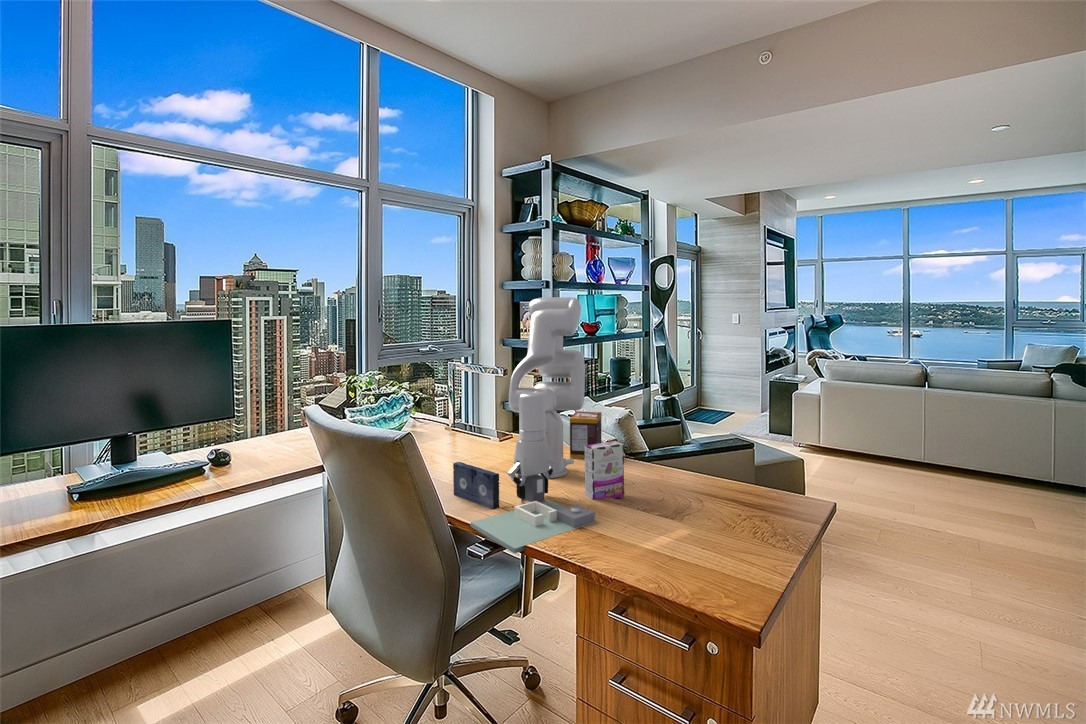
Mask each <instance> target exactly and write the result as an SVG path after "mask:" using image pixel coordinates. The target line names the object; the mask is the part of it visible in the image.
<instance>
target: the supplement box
mask: <svg viewBox="0 0 1086 724" xmlns="http://www.w3.org/2000/svg"><path fill="white" fill-rule="evenodd" d="M602 413H603V412H602V411H583V410H575V412H574V413H573V414H572V416H571V417H569V459H571V458H572V459H577V460H578V459H580V460H581V459H582V460H583V459H584V460H585V445H592V444H598V443H602Z"/></svg>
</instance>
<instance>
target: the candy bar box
mask: <svg viewBox="0 0 1086 724" xmlns="http://www.w3.org/2000/svg"><path fill="white" fill-rule="evenodd" d="M624 448H625V445H624V443H622V442H620V441H617V440H612V441H607V442H606V441H605V442H601V443H598V444H592V445H585V459H584V495H585V497H587V498H589V499H591V500H592V501H593V500H601V499H605V498H612V499H615V500H617V499H618V500H619V499H622V498H624V497H625V453H624V452H625V449H624Z"/></svg>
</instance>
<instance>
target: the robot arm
mask: <svg viewBox="0 0 1086 724" xmlns="http://www.w3.org/2000/svg"><path fill="white" fill-rule="evenodd" d="M581 306H582V305H581V303H580V300H579V299H578V298H576V297H570V296H569V297H567V296H566V297H565V296H564V297H563V296H562V297H554V296H553V297H552V296H549V297H538V298H534V299H531V300H530V302H529V305H528V312H529V315H530V319H529V331H528V342H527V343H528V344H527V354H526V356H525V357H524V358H523V359H521V361H520V362H519V363H518V364H517V366H516V367H515V368H514V370H513V372H512V374H511V376H510V382H509V388H508V389H509V390H508V407H509V409H510V410H511V411H512V413H513V412H514V413H518V415H519V416H518V417H519V418H518V420H519V422H518V424H519V427H518V428H519V429H518V430H519V432H518V433H519V435H518V436H519V437H518V440H516V444H515V447H514V454H513V455H514V457H513V467H511V468H510V470H509V471H508V472H507V475H508V477H509V478H510V479H511V481H512V482H513V483H514V484H515V485H516V496H517V497H516V498H519V499H520V500H521V499H525V486H524V485H523V484H524V482H525V480H526V477H528V476H533V475H539V476H542V477H544V481H545V494H548V493H549V480H550V479H555V478H561V477H565V476H566V475H568V473H569V470H568V468H567V466H568V465H573V464H575V460H574V458H565V457H564V421H563V418H562V417H561V415H560V414H559V413H558V411H580V410H581V409H582V408H583V406H584V403H585V378H586V377H585V373H586V372H585V371H586V369H585V359H584V355H583V354H582V352H581V351H579V350H575V349H564V337H566V336H568V337H571V336H574V334H575V333H576V331H577V329H578V325H579V322H580V318H581V315H582V307H581ZM536 369H538V370H537V371H538V374H539V375H540V376H541V377H544V378H552V379H556V378H557V379H569V380H570V381H541V382H538V383H536V384H535V385H534V386H533V387H521V383H522V381H523V379H524V378H525V377H526V375H528V374H529V373H530V372H532V371H533V370H536ZM516 475H517V476H516ZM521 477H522V478H521Z"/></svg>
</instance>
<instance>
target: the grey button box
mask: <svg viewBox="0 0 1086 724" xmlns="http://www.w3.org/2000/svg"><path fill="white" fill-rule="evenodd" d="M595 519H596V512H595V511H592V510H590V509H588V508H585V507H584V506H581V505H579V504H575V505H572V506H568V507H565V508H564V509H561V510H558V511H557V520H558V521H560V522H563V523H565V524H567V525H569V526H571V527H573V528H576V527H579V526H582V525H585V524H588V523H591V522H594V521H596V520H595Z"/></svg>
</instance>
